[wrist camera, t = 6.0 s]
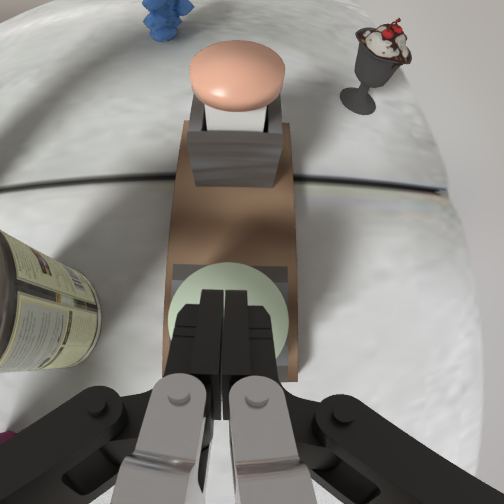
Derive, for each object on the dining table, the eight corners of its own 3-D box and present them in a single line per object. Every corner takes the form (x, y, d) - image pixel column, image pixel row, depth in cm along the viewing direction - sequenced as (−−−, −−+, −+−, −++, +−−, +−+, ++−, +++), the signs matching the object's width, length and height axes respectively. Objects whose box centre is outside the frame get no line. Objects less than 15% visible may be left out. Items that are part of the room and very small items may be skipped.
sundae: (344, 121, 34) (388, 24, 19) (326, 83, 35) (357, -9, 21) (389, 121, 34) (440, 37, 20) (369, 85, 36) (408, 2, 22)
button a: (271, 368, 22) (288, 381, 15) (187, 366, 22) (166, 378, 15) (271, 286, 24) (288, 263, 17) (189, 284, 24) (171, 260, 17)
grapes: (188, 59, 36) (181, -12, 24) (142, 61, 35) (126, -6, 24) (203, 20, 39) (200, -41, 27) (163, 21, 39) (154, -37, 27)
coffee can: (12, 340, 24) (-85, 327, 11) (42, 252, 27) (-47, 199, 14) (84, 387, 24) (-14, 409, 10) (117, 288, 27) (32, 243, 13)
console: (293, 378, 26) (320, 395, 17) (167, 376, 25) (137, 391, 16) (286, 134, 32) (301, 76, 24) (186, 131, 32) (175, 72, 23)
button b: (273, 162, 24) (287, 99, 17) (194, 160, 24) (183, 96, 17) (272, 105, 26) (282, 42, 19) (202, 103, 26) (195, 40, 19)
